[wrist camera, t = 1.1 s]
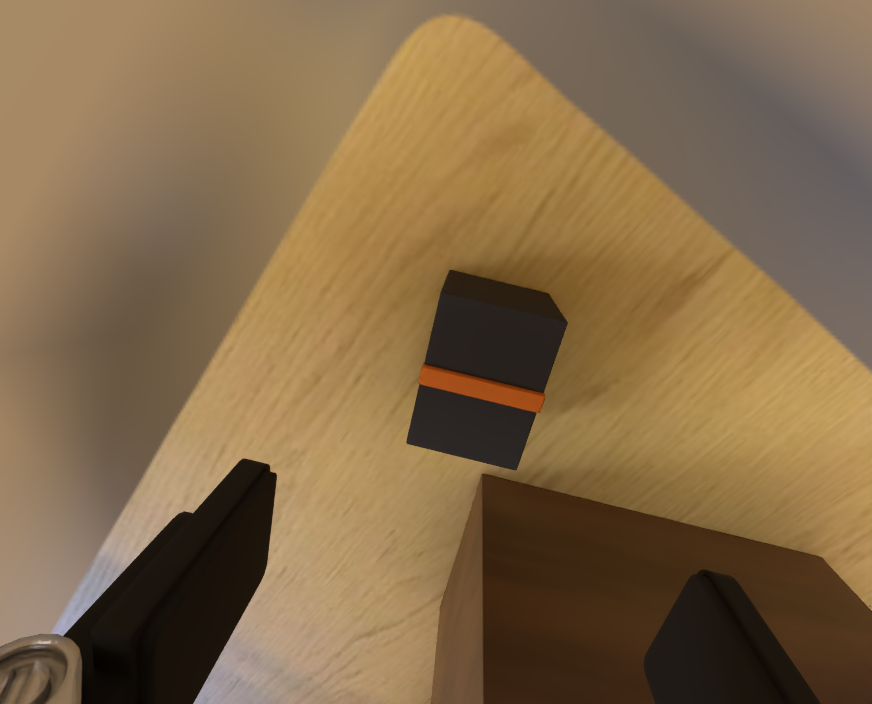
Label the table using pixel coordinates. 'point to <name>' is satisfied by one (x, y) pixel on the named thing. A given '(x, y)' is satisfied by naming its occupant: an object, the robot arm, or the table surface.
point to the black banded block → (485, 369)
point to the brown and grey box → (618, 602)
